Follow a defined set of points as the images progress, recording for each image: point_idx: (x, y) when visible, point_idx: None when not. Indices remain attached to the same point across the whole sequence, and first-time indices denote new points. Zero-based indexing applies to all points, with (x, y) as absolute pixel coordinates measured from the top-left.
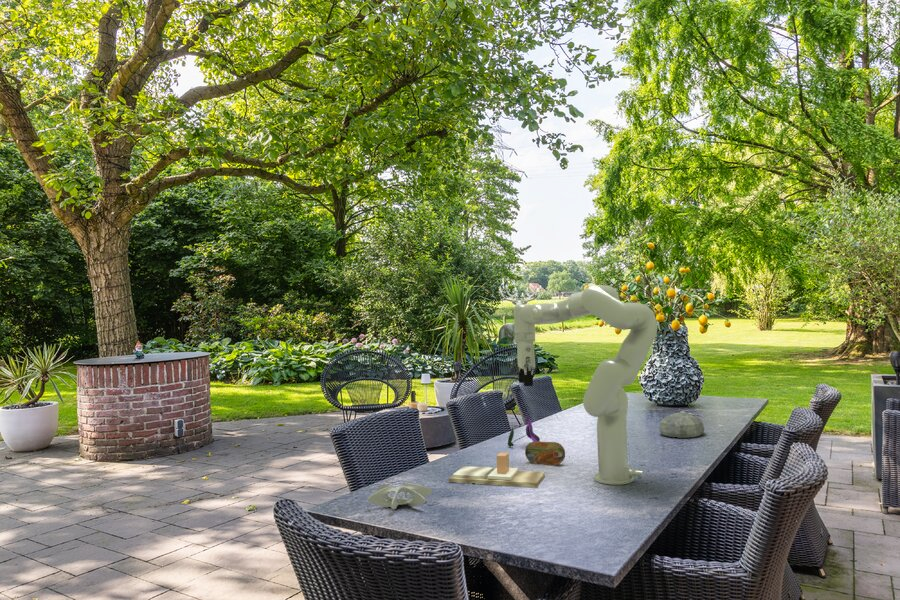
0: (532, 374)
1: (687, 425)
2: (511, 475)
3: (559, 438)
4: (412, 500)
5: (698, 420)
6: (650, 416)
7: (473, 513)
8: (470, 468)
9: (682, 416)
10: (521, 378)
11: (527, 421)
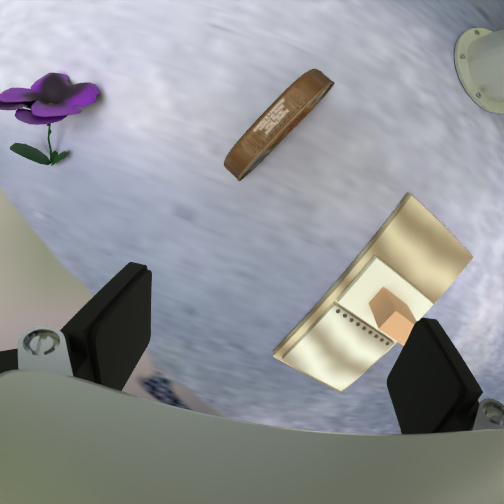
0: (499, 403)
1: None
2: (424, 297)
3: (29, 18)
4: None
5: None
6: None
7: (492, 377)
8: (311, 353)
9: None
10: (135, 348)
11: (34, 114)
